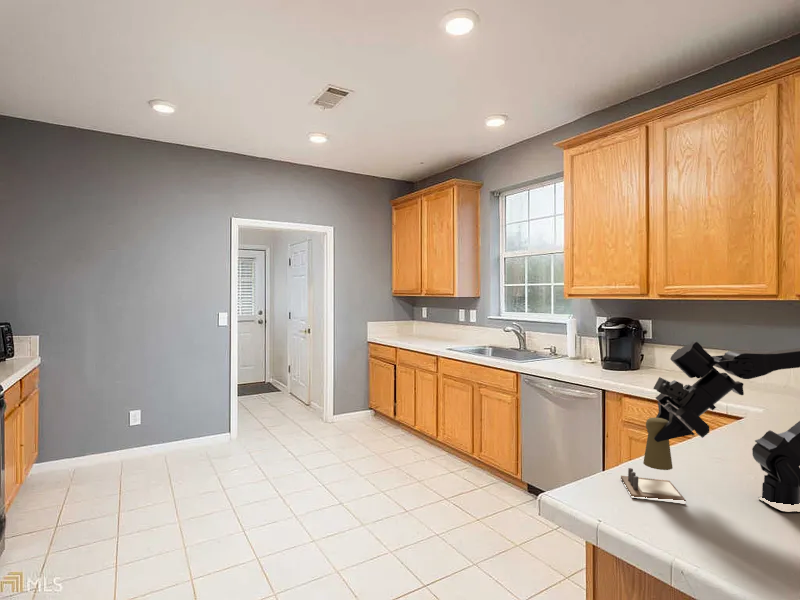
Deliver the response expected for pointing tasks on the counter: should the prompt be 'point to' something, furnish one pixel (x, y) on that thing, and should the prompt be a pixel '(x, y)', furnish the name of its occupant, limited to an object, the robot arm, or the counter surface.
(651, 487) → the pin board
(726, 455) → the counter surface
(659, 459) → the cork
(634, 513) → the counter surface
